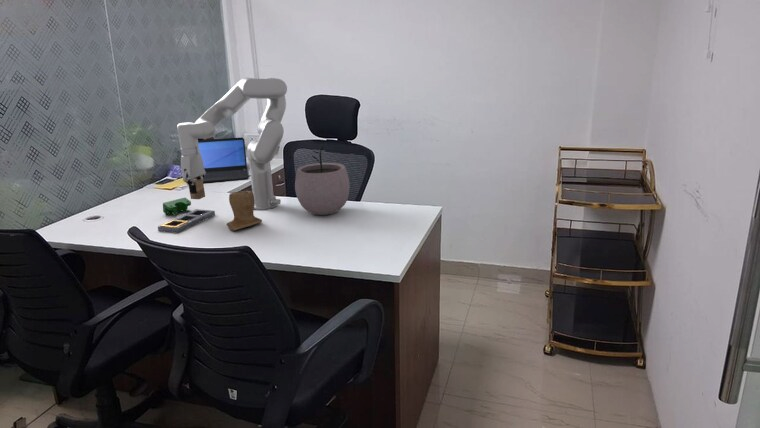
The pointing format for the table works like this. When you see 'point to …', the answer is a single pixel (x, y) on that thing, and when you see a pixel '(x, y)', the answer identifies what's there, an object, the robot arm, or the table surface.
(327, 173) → the plant pot
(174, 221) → the grey slotted board
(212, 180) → the laptop
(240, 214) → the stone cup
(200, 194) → the peg
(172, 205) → the green toy truck
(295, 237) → the table surface
